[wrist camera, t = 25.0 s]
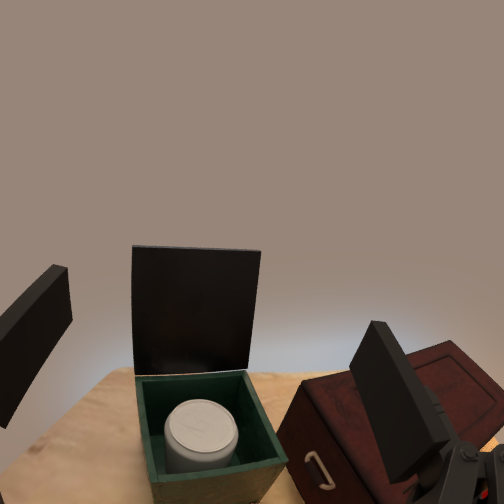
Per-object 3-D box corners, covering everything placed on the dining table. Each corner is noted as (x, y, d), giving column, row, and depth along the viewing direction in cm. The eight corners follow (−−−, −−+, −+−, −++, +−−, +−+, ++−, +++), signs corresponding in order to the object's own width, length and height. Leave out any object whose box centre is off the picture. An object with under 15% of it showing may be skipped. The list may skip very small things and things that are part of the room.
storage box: (323, 566, 22) (385, 542, 16) (259, 442, 41) (286, 380, 35) (482, 458, 37) (531, 407, 31) (422, 388, 56) (456, 335, 50)
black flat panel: (261, 251, 34) (258, 249, 35) (132, 246, 29) (132, 245, 30) (247, 368, 37) (245, 365, 37) (134, 375, 31) (134, 371, 32)
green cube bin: (259, 501, 31) (289, 460, 26) (157, 517, 26) (150, 482, 21) (229, 426, 43) (246, 369, 37) (140, 434, 37) (134, 376, 32)
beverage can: (212, 501, 30) (225, 467, 25) (155, 476, 31) (150, 434, 26) (233, 457, 37) (250, 411, 32) (180, 435, 38) (184, 385, 34)
